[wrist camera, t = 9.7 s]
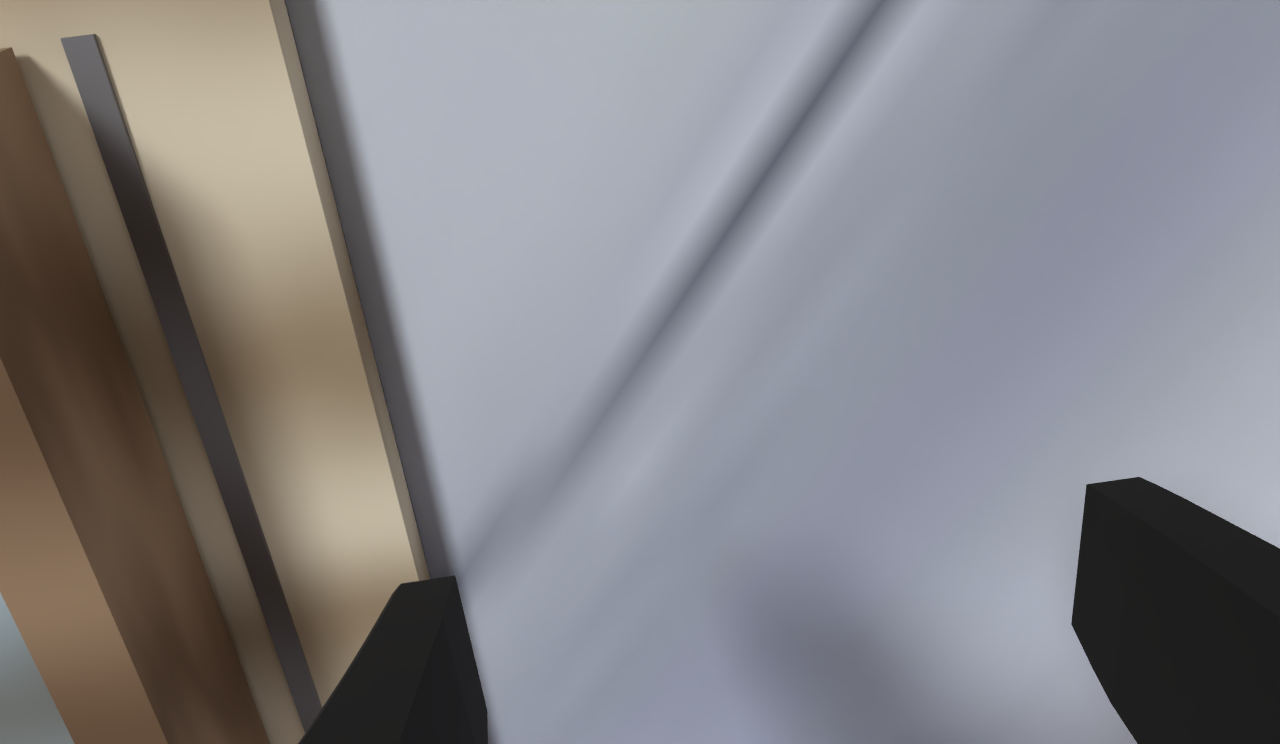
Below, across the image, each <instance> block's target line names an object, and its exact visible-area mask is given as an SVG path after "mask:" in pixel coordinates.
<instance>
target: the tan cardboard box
mask: <svg viewBox="0 0 1280 744" xmlns="http://www.w3.org/2000/svg"><path fill="white" fill-rule="evenodd" d="M0 744H270V742H269V739H268V737H267V734H266V731H265V728H264V726H263V723H262V720H261V718H260V715H259V712H258V710H257V707H256V704H255V701H254V699H253V696H252V693H251V691H250V688H249V685H248V683H247V680H246V677H245V675H244V672H243V669H242V666H241V664H240V661H239V658H238V656H237V653H236V650H235V648H234V645H233V642H232V639H231V637H230V634H229V631H228V629H227V626H226V623H225V621H224V618H223V615H222V613H221V610H220V607H219V604H218V602H217V599H216V596H215V594H214V591H213V588H212V586H211V583H210V580H209V577H208V575H207V572H206V569H205V567H204V564H203V561H202V559H201V556H200V553H199V551H198V548H197V545H196V542H195V540H194V537H193V534H192V532H191V529H190V526H189V524H188V521H187V518H186V515H185V513H184V510H183V507H182V505H181V502H180V499H179V497H178V494H177V491H176V488H175V486H174V483H173V480H172V478H171V475H170V472H169V470H168V467H167V464H166V462H165V459H164V456H163V453H162V451H161V448H160V445H159V443H158V440H157V437H156V435H155V432H154V429H153V426H152V424H151V421H150V418H149V416H148V413H147V410H146V408H145V405H144V402H143V400H142V397H141V394H140V391H139V389H138V386H137V383H136V381H135V378H134V375H133V373H132V370H131V367H130V364H129V362H128V359H127V356H126V354H125V351H124V348H123V346H122V343H121V340H120V337H119V335H118V332H117V329H116V327H115V324H114V321H113V319H112V316H111V313H110V311H109V308H108V305H107V302H106V300H105V297H104V294H103V292H102V289H101V286H100V284H99V281H98V278H97V275H96V273H95V270H94V267H93V265H92V262H91V259H90V257H89V254H88V251H87V249H86V246H85V243H84V240H83V238H82V235H81V232H80V230H79V227H78V224H77V222H76V219H75V216H74V213H73V211H72V208H71V205H70V203H69V200H68V197H67V195H66V192H65V189H64V187H63V184H62V181H61V178H60V176H59V173H58V170H57V168H56V165H55V162H54V160H53V157H52V154H51V151H50V149H49V146H48V143H47V141H46V138H45V135H44V133H43V130H42V127H41V124H40V122H39V119H38V116H37V114H36V111H35V108H34V106H33V103H32V100H31V98H30V95H29V92H28V89H27V87H26V84H25V81H24V79H23V76H22V73H21V71H20V68H19V65H18V62H17V60H16V57H15V54H14V52H13V49H12V47H9V48H1V49H0Z"/></svg>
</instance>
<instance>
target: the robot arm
mask: <svg viewBox="0 0 1280 744" xmlns="http://www.w3.org/2000/svg"><path fill="white" fill-rule="evenodd" d="M1072 626H1073V628H1074V630H1075V632H1076V635H1077V637H1078V639H1079V641H1080V643H1081V645H1082V647H1083V649H1084V651H1085V653H1086V655H1087V657H1088V659H1089V662H1090V664H1091V666H1092V668H1093V670H1094V672H1095V673H1096V675H1097V677H1098V679H1099V681H1100V683H1101V685H1102V687H1103V689H1104V691H1105V693H1106V695H1107V696H1108V698H1109V700H1110V702H1111V704H1112V705H1113V707H1114V708H1115V710H1116V711H1117V713H1118V715H1119V716H1120V718H1121V719H1122V721H1123V722H1124V724H1125V725H1126V727H1127V728H1128V730H1129V731H1130V733H1131V734H1132V736H1133V737H1134V739H1135V740H1136V742H1137V743H1138V744H1280V549H1279V548H1278V547H1276V546H1274V545H1272V544H1270V543H1268V542H1266V541H1264V540H1262V539H1260V538H1258V537H1256V536H1255V535H1253V534H1251V533H1249V532H1247V531H1245V530H1243V529H1241V528H1239V527H1238V526H1236V525H1234V524H1232V523H1230V522H1228V521H1226V520H1224V519H1222V518H1221V517H1219V516H1217V515H1215V514H1213V513H1211V512H1209V511H1207V510H1205V509H1203V508H1201V507H1200V506H1198V505H1196V504H1194V503H1192V502H1190V501H1188V500H1186V499H1184V498H1182V497H1180V496H1178V495H1176V494H1174V493H1172V492H1170V491H1168V490H1166V489H1164V488H1162V487H1160V486H1158V485H1156V484H1154V483H1151V482H1149V481H1147V480H1145V479H1143V478H1140V477H1135V478H1129V479H1122V480H1115V481H1108V482H1101V483H1094V484H1087V486H1086V495H1085V504H1084V514H1083V523H1082V532H1081V541H1080V550H1079V560H1078V569H1077V578H1076V587H1075V596H1074V606H1073V615H1072ZM298 744H488V730H487V708H486V704H485V700H484V696H483V691H482V687H481V683H480V679H479V675H478V670H477V666H476V662H475V658H474V654H473V649H472V645H471V641H470V637H469V633H468V628H467V624H466V620H465V616H464V612H463V607H462V603H461V599H460V595H459V591H458V586H457V582H456V578H455V576H450V577H443V578H436V579H429V580H422V581H415V582H408V583H401V584H400V585H399V586H398V587H397V589H396V590H395V591H394V592H393V593H392V595H391V597H390V599H389V600H388V602H387V604H386V606H385V607H384V609H383V611H382V612H381V614H380V616H379V618H378V619H377V621H376V623H375V624H374V626H373V628H372V630H371V631H370V633H369V635H368V636H367V638H366V640H365V641H364V643H363V645H362V646H361V648H360V650H359V651H358V653H357V654H356V656H355V658H354V659H353V661H352V663H351V664H350V666H349V667H348V669H347V671H346V672H345V674H344V675H343V677H342V679H341V680H340V682H339V683H338V685H337V686H336V688H335V689H334V691H333V692H332V694H331V695H330V697H329V698H328V700H327V701H326V703H325V704H324V706H323V707H322V709H321V710H320V712H319V714H318V715H317V717H316V718H315V720H314V721H313V723H312V724H311V726H310V727H309V729H308V730H307V731H306V733H305V734H304V736H303V737H302V739H301V740H300V741H299V743H298Z"/></svg>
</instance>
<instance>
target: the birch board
mask: <svg viewBox="0 0 1280 744" xmlns="http://www.w3.org/2000/svg"><path fill="white" fill-rule="evenodd" d="M9 47H12V49H13V52H14V54H15V57H16V60H17V62H18V65H19V68H20V71H21V73H22V76H23V79H24V81H25V84H26V87H27V89H28V92H29V95H30V98H31V100H32V103H33V106H34V108H35V111H36V114H37V116H38V119H39V122H40V124H41V127H42V130H43V133H44V135H45V138H46V141H47V143H48V146H49V149H50V151H51V154H52V157H53V160H54V162H55V165H56V168H57V170H58V173H59V176H60V178H61V181H62V184H63V187H64V189H65V192H66V195H67V197H68V200H69V203H70V205H71V208H72V211H73V213H74V216H75V219H76V222H77V224H78V227H79V230H80V232H81V235H82V238H83V240H84V243H85V246H86V249H87V251H88V254H89V257H90V259H91V262H92V265H93V267H94V270H95V273H96V275H97V278H98V281H99V284H100V286H101V289H102V292H103V294H104V297H105V300H106V302H107V305H108V308H109V311H110V313H111V316H112V319H113V321H114V324H115V327H116V329H117V332H118V335H119V337H120V340H121V343H122V346H123V348H124V351H125V354H126V356H127V359H128V362H129V364H130V367H131V370H132V373H133V375H134V378H135V381H136V383H137V386H138V389H139V391H140V394H141V397H142V400H143V402H144V405H145V408H146V410H147V413H148V416H149V418H150V421H151V424H152V426H153V429H154V432H155V435H156V437H157V440H158V443H159V445H160V448H161V451H162V453H163V456H164V459H165V462H166V464H167V467H168V470H169V472H170V475H171V478H172V480H173V483H174V486H175V488H176V491H177V494H178V497H179V499H180V502H181V505H182V507H183V510H184V513H185V515H186V518H187V521H188V524H189V526H190V529H191V532H192V534H193V537H194V540H195V542H196V545H197V548H198V551H199V553H200V556H201V559H202V561H203V564H204V567H205V569H206V572H207V575H208V577H209V580H210V583H211V586H212V588H213V591H214V594H215V596H216V599H217V602H218V604H219V607H220V610H221V613H222V615H223V618H224V621H225V623H226V626H227V629H228V631H229V634H230V637H231V639H232V642H233V645H234V648H235V650H236V653H237V656H238V658H239V661H240V664H241V666H242V669H243V672H244V675H245V677H246V680H247V683H248V685H249V688H250V691H251V693H252V696H253V699H254V701H255V704H256V707H257V710H258V712H259V715H260V718H261V720H262V723H263V726H264V728H265V731H266V734H267V737H268V739H269V742H270V744H298V743H299V741H300V740H301V739H302V737H303V736H304V734H305V733H306V731H307V730H308V729H309V727H310V726H311V724H312V723H313V721H314V720H315V718H316V717H317V715H318V714H319V712H320V710H321V709H322V707H323V706H324V704H325V703H326V701H327V700H328V698H329V697H330V695H331V694H332V692H333V691H334V689H335V688H336V686H337V685H338V683H339V682H340V680H341V679H342V677H343V675H344V674H345V672H346V671H347V669H348V667H349V666H350V664H351V663H352V661H353V659H354V658H355V656H356V654H357V653H358V651H359V650H360V648H361V646H362V645H363V643H364V641H365V640H366V638H367V636H368V635H369V633H370V631H371V630H372V628H373V626H374V624H375V623H376V621H377V619H378V618H379V616H380V614H381V612H382V611H383V609H384V607H385V606H386V604H387V602H388V600H389V599H390V597H391V595H392V593H393V592H394V591H395V590H396V589H397V587H398V586H399V585H400V584H401V583H408V582H415V581H422V580H429V579H430V576H429V572H428V568H427V564H426V560H425V556H424V552H423V548H422V544H421V540H420V536H419V532H418V528H417V524H416V520H415V516H414V512H413V508H412V504H411V500H410V496H409V492H408V488H407V485H406V481H405V477H404V473H403V469H402V465H401V461H400V457H399V453H398V449H397V445H396V441H395V437H394V433H393V429H392V425H391V421H390V417H389V413H388V409H387V405H386V401H385V397H384V393H383V389H382V385H381V381H380V378H379V374H378V370H377V366H376V362H375V358H374V354H373V350H372V346H371V342H370V338H369V334H368V330H367V326H366V322H365V318H364V314H363V310H362V306H361V302H360V298H359V294H358V290H357V286H356V282H355V278H354V274H353V270H352V267H351V263H350V259H349V255H348V251H347V247H346V243H345V239H344V235H343V231H342V227H341V223H340V219H339V215H338V211H337V207H336V203H335V199H334V195H333V191H332V187H331V183H330V179H329V175H328V171H327V167H326V163H325V160H324V156H323V152H322V148H321V144H320V140H319V136H318V132H317V128H316V124H315V120H314V116H313V112H312V108H311V104H310V100H309V96H308V92H307V88H306V84H305V80H304V76H303V72H302V68H301V64H300V60H299V56H298V52H297V49H296V45H295V41H294V37H293V33H292V29H291V25H290V21H289V17H288V13H287V9H286V5H285V1H284V0H0V49H1V48H9Z"/></svg>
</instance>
